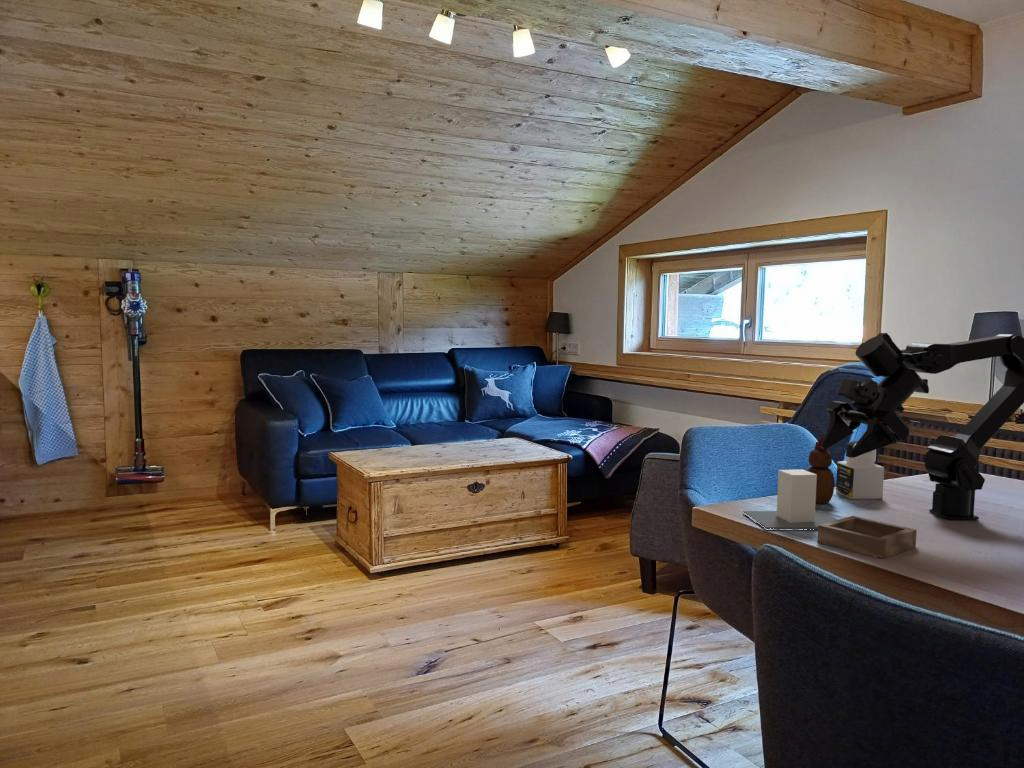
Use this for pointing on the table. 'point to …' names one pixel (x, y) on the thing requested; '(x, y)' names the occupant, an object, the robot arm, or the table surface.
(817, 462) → the wooden figurine
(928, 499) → the table surface
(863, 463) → the medicine bottle
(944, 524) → the table surface
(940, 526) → the table surface
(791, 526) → the slate mat
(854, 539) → the wooden tray
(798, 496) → the white block
